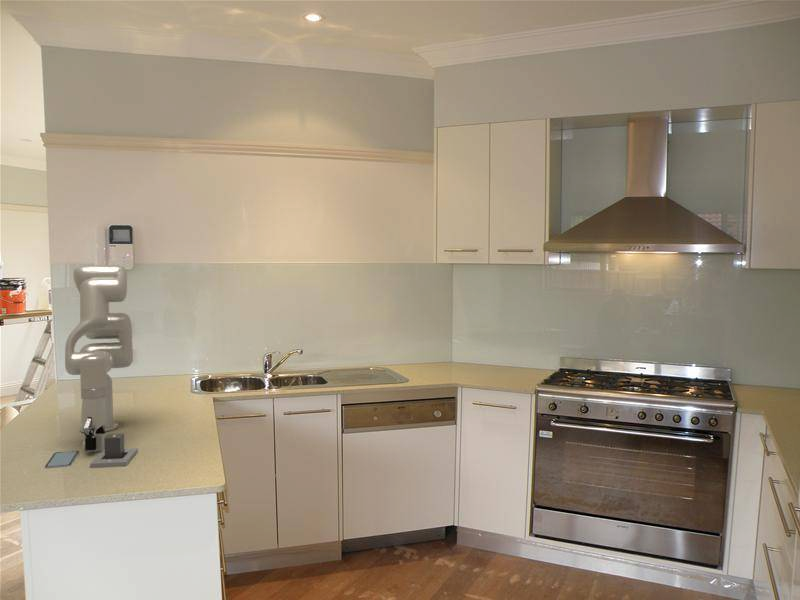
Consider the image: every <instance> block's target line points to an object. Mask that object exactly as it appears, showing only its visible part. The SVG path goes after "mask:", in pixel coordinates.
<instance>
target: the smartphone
mask: <svg viewBox="0 0 800 600" xmlns="http://www.w3.org/2000/svg"><path fill="white" fill-rule="evenodd" d="M79 454H80V450H77V449H76V450H65V451H56V452H54V453H53V454H52V455H51V457H50V458H49V460H48V461H47V462H46V464H45V465H44V466H43V467H44V469H55V468H65V467H67V466H68V467H71V466H73V464H72V463H74V462H75V460H76V459H75V458H77V457H78V455H79Z"/></svg>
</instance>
